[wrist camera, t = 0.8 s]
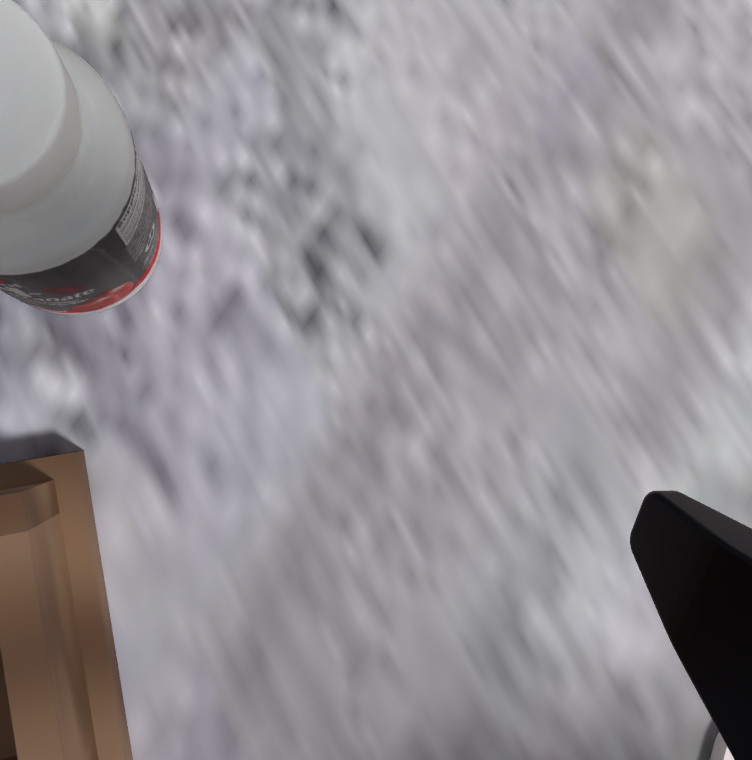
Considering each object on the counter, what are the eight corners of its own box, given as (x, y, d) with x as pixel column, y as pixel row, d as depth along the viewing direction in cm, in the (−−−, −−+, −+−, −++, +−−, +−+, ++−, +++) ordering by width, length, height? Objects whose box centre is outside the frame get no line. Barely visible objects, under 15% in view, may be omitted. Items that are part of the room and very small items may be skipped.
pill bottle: (-16, 319, 20) (-251, 231, 10) (-18, 147, 20) (-249, -94, 10) (167, 317, 21) (111, 237, 11) (163, 155, 21) (104, -56, 12)
